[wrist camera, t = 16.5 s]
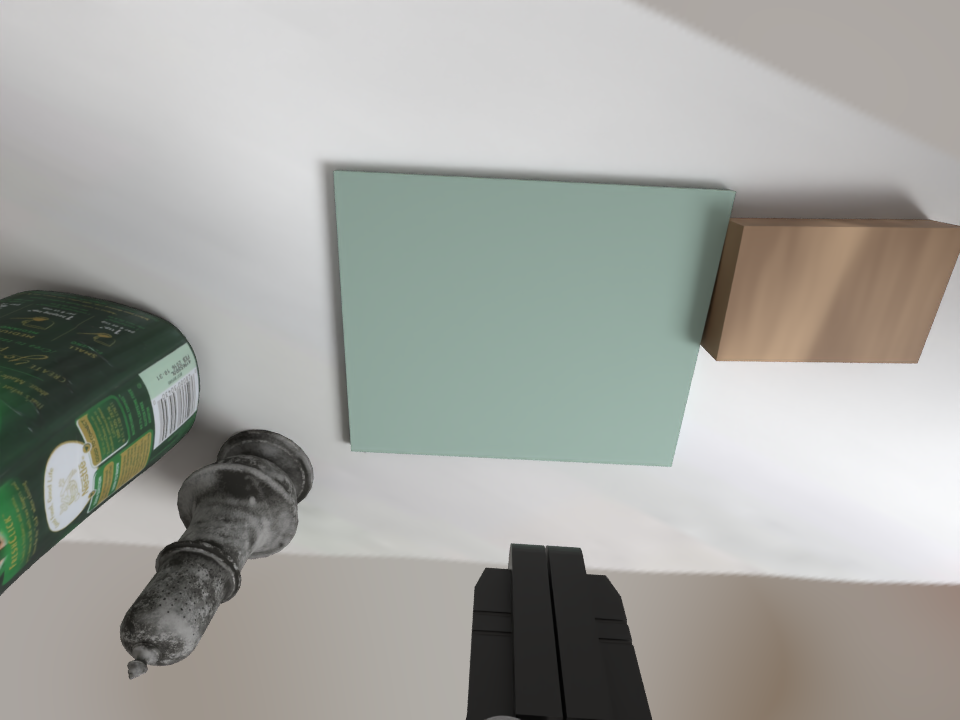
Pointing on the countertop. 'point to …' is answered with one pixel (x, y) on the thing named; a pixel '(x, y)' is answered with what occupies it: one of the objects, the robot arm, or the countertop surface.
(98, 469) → the coffee jar
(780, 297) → the slab
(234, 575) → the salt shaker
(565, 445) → the mat
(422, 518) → the countertop surface
